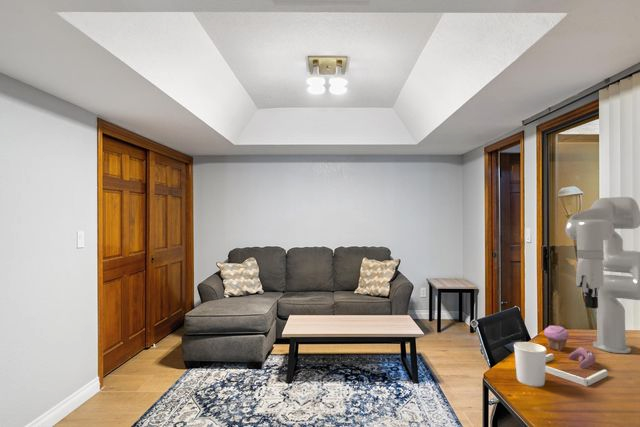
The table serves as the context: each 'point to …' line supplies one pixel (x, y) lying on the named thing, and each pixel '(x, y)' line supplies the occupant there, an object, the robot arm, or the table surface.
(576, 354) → the video game controller
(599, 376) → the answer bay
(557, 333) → the cupcake
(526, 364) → the candle holder
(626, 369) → the table surface
